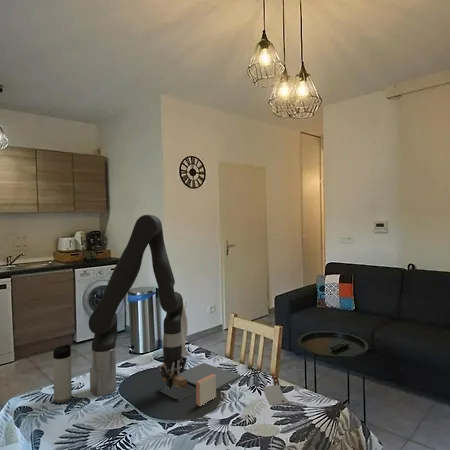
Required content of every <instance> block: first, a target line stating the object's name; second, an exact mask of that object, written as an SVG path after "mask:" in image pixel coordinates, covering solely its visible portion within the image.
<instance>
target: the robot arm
mask: <svg viewBox="0 0 450 450" xmlns="http://www.w3.org/2000/svg"><path fill="white" fill-rule="evenodd" d="M163 231H164V230H163V224H162V221H161V219H160V218H159V217H157V215H154V214H153V215H152V214H143V215H141V216H140V217H138V219H137V220H136V221H135V223H134V226H133V229H132V231H131V233H130V234H131V235H130V237H129V240H128V241H127V245H126V246H125V248H124V250H123V252H122V253H121V255H120V257H119V260H118V261H117V263H116V265H115V266H114V269H113V271H112V273H111V275H110V278H109V280H108V283H107V284H106V287H105V289H104V292H103V295H102V297H101V298H100V300H99V302H98V303H97V306H96V307H95V309H93V311H92V313H91V314H90V316H89V319H88V329H89V330H90V331H91V333H93V334H94V335H93V340H92V342H91V367H90V368H89V391H90V393H92V394H93V395H95V396H96V397H100V396H105V395H106V396H107V395H111V394H112V393H114V392H115V391H116V390H117V354H116V353H117V348H116V347H117V346H116V345H117V339H118V338H117V337H118V314H117V313H116V312H117V310H118V307H119V306H120V303H122V301H123V300H124V298H125V297H126V296H127V294H128V293H129V291H130V289H132V287H133V285H134V283H135V282H136V280H137V277H138V275H139V273H140V271H141V266H142V263H143V262H142V261H143V257H144V254H145V251H146V249H147V247H148V246H149V249H150V250H149V251H150V254H151V262H152V264H151V265H152V269H153V270H152V271H153V273H154V274H153V275H154V278H155V281H156V284H157V288H158V291H157V292H158V300H159V304H160V307H161V309H162V310H163V311H164V312H166V314H165V317H164V319H163V323H162V324H163V325H162V326H163V328H162V330H163V332H162V333H163V335H162V355H163V360H162V364H161V365H158V366H157V368H158V371H159V373H160V375H161V378H162V377H163V378H165V379H167V382H166V387H168V388H172V373H174V374H176V375H180V373H183V372H184V371H185V367H186V364H187V360H188V359H187V357H186V356H181V355H182V334H181V316H182V310H183V302H184V299H183V295H182V294H181V293H180V292H179V291H175V288H174V287H175V283H176V282H175V277H174V273H173V270H172V267H171V263H170V260H169V256H168V253H167V249H166V244H165V238H164V232H163Z"/></svg>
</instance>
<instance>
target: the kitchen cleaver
mask: <svg viewBox="0 0 450 450" xmlns="http://www.w3.org/2000/svg"><path fill="white" fill-rule="evenodd" d="M271 378H272V380H273V385H269V386H268V385H267V386H262V390H263V393H264V396H265V399H266V400H267V402H268V405H269V406H286V405H289V404H290V400H289V399H287V398H286V397H285V395H284V393H283V391H282V389H281V386H280V385H281V384H280V382H279V377H278V375H277V374H273V375H271Z"/></svg>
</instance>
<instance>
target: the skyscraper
mask: <svg viewBox="0 0 450 450" xmlns="http://www.w3.org/2000/svg"><path fill="white" fill-rule="evenodd" d="M187 305H188V304H187V301H185V300H183V310H182V316H181V334H182V355H181V356H183V357H187V356H191V353H190V352H188V351H187V347H186V342H187V338H188V337H187V335H188V318H187V314H186V309H187Z"/></svg>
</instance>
